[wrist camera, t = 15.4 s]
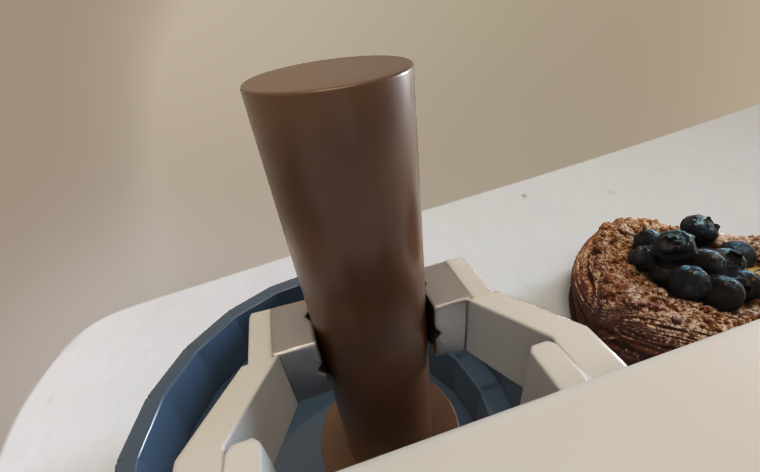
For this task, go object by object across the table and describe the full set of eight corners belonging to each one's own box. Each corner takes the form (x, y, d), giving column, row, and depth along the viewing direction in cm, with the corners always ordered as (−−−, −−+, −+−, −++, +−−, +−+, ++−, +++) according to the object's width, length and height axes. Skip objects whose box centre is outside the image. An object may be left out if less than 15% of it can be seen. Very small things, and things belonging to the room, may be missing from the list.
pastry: (885, 465, 14) (1016, 375, 11) (555, 361, 20) (577, 279, 16) (793, 288, 22) (854, 204, 19) (574, 248, 27) (591, 177, 24)
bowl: (116, 803, 10) (-54, 822, 7) (235, 361, 22) (196, 288, 18) (625, 704, 10) (711, 675, 7) (468, 325, 22) (472, 247, 19)
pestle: (336, 559, 12) (111, 135, 4) (336, 420, 15) (222, 67, 8) (476, 535, 12) (529, 77, 4) (441, 403, 16) (434, 39, 8)
